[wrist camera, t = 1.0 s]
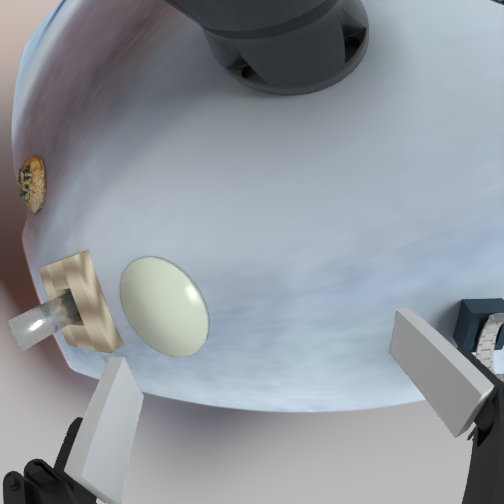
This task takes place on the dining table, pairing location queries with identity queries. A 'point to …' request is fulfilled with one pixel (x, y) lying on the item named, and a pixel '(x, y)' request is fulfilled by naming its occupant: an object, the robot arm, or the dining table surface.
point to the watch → (481, 329)
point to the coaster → (164, 307)
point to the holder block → (82, 303)
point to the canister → (44, 320)
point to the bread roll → (32, 183)
